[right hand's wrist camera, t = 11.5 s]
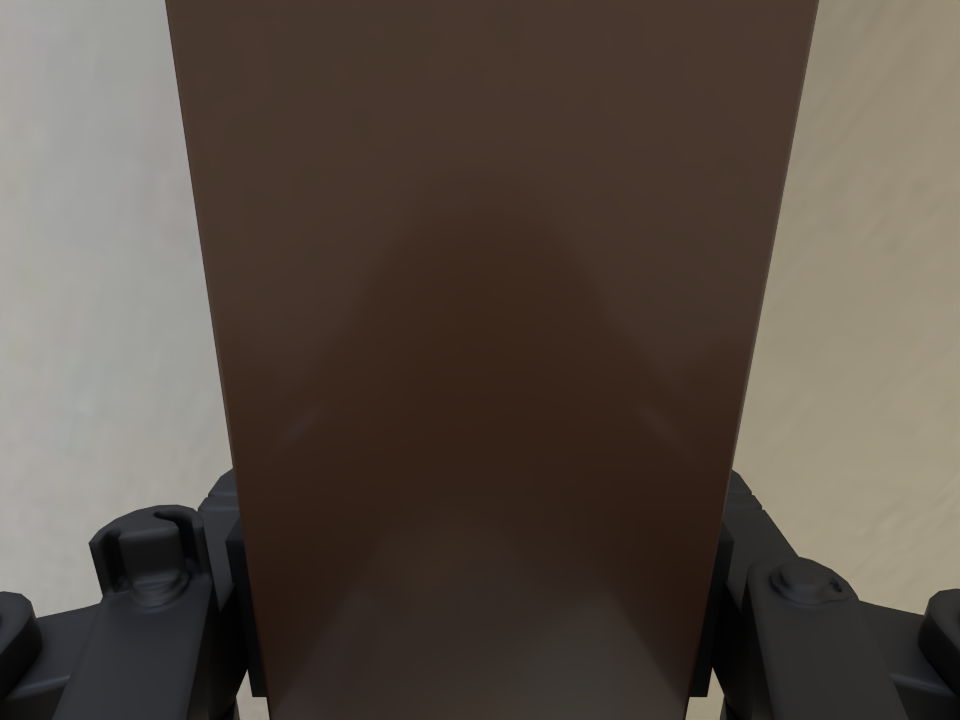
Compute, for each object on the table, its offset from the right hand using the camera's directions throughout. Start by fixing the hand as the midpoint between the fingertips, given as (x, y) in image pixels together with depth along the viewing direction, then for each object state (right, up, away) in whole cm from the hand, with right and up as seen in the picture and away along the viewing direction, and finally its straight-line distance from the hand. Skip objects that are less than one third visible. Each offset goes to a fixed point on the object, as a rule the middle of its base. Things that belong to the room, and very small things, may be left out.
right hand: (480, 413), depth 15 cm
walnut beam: (0, +10, -4) cm, 11 cm away
